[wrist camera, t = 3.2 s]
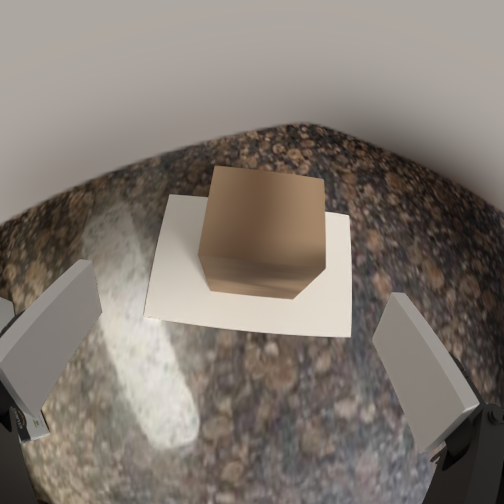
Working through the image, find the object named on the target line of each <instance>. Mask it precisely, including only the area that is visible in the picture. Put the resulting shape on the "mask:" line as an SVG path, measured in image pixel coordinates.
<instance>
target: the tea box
mask: <svg viewBox="0 0 504 504" xmlns="http://www.w3.org/2000/svg"><path fill="white" fill-rule="evenodd" d="M14 316H15V313H14V306H13V303H12V302H11V301H8V300H6V299H4V298H2V297H0V333H1V330H2V329H3V328H4V327H5V326H7V324H8V323H9V322H10V320H11V319H12V318H13V317H14ZM11 406H12V407H13V409H14V412H15V419H16V425H17V430H18V436H19V441H20V444H21V443H25V442H29V441H32V440H35V439H38V438H41V437H44V436H47V435H49V434H50V432H49V430H48V428H47V426H46V424H45V422H44V419H43V416H42V414H41V411H40V412H39V414H38V416H37V418H34V417H32V416H30V415H28V414H26V413H25V412H23V411H21V409H20V408H19V407H18V405H17V404H16V403H15V401H14V402H13V403H12V405H11Z"/></svg>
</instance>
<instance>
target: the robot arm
mask: <svg viewBox="0 0 504 504" xmlns="http://www.w3.org/2000/svg"><path fill="white" fill-rule="evenodd" d="M101 313H102V309H101V304H100V299H99V294H98V289H97V283H96V278H95V271H94V265H93V261H88V260H82V259H79V260H78V261H77V262H76V263H75V264H73V265H72V266H71V267H70V268H69V269H68V270H67V271H66V272H65V273H63V274H62V275H61V276H60V277H59V278H58V279H57V280H56V281H55V282H54V283H53V284H52V285H51V286H50V287H49V288H48V289H46V290H45V291H44V292H43V293H42V294H41V295H40V296H39V297H38V298H37V299H36V300H35V301H34V302H33V303H32V304H31V305H30V306H29V307H28V309H27V310H26V311H25V310H24V311H22V312H21V313H19V314H17V315H16V316H14V317H13V318H12V319H11V320H10V322H9V323H8V324H7V326H5V327H4V328H3V329H2V330H1V333H0V504H38V502H37V499H36V497H35V494H34V491H33V488H32V485H31V482H30V479H29V476H28V472H27V469H26V465H25V462H24V458H23V454H22V450H21V445H20V441H19V436H18V430H17V425H16V419H15V412H14V409H13V407H12V406H11V405H12V403H13V402H14V401H15V403H16V404H17V405H18V407H19V408H20V409H21V411H23V412H25V413H26V414H28V415H30V416H32V417H34V418H37V416H38V414H39V412H40V410H41V408H42V406H43V405H44V403H45V401H46V399H47V398H48V396H49V394H50V392H51V391H52V389H53V387H54V386H55V384H56V382H57V380H58V379H59V377H60V375H61V374H62V372H63V371H64V369H65V367H66V366H67V364H68V363H69V361H70V359H71V358H72V356H73V355H74V353H75V352H76V350H77V349H78V347H79V346H80V344H81V343H82V341H83V340H84V338H85V337H86V335H87V334H88V332H89V331H90V329H91V328H92V326H93V325H94V323H95V322H96V321H97V319H98V318H99V316H100V315H101ZM372 341H373V344H374V346H375V348H376V350H377V352H378V354H379V356H380V359H381V361H382V363H383V365H384V367H385V370H386V372H387V374H388V376H389V379H390V381H391V383H392V385H393V388H394V390H395V392H396V395H397V397H398V400H399V402H400V404H401V407H402V409H403V412H404V414H405V417H406V419H407V422H408V424H409V427H410V429H411V432H412V435H413V437H414V440H415V443H416V445H417V448H418V451H419V454H421V453H424V452H428V451H431V450H433V449H435V448H437V447H438V446H439V445H440V444H441V443H442V442H443V441H444V440H445V443H446V446H445V447H444V448H443V449H442V450H441V451H439V452H438V453H437V454H436V455H435V456H434V457H432V459H431V461H430V462H433V461H434V460H436V459H437V458H438V457H439V456H440V458H439V460H438V461H437V462H436V463H435V464H437V467H436V470H435V473H434V476H433V478H432V481H431V484H430V486H429V489H428V491H427V493H426V496H425V498H424V500H423V503H422V504H504V411H503V410H502V409H501V408H500V407H499V406H497V405H495V404H487V405H486V403H485V402H484V400H483V399H482V397H481V395H480V394H479V392H478V390H477V389H476V387H475V385H474V384H473V382H472V380H471V379H470V378H468V377H469V376H468V374H467V373H466V371H464V368H463V366H462V365H461V363H460V362H459V360H458V359H457V358H455V357H454V356H453V355H452V354H451V353H450V352H448V351H447V350H446V349H445V347H444V346H443V344H442V343H441V341H440V340H439V338H438V337H437V336H436V334H435V333H434V331H433V330H432V329H431V327H430V326H429V324H428V323H427V322H426V320H425V319H424V318H423V316H422V315H421V314H420V312H419V311H418V310H417V308H416V307H415V306H414V304H413V303H412V302H411V301H410V299H409V298H408V297H407V295H406V294H405V293H394V292H391V295H390V297H389V300H388V302H387V305H386V307H385V310H384V312H383V315H382V317H381V319H380V322H379V324H378V326H377V329H376V331H375V333H374V335H373V338H372Z"/></svg>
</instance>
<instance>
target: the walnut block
mask: <svg viewBox="0 0 504 504" xmlns="http://www.w3.org/2000/svg"><path fill="white" fill-rule="evenodd" d="M198 257H199V260H200V263H201V265H202V268H203V271H204V274H205V277H206V280H207V283H208V285H209V288H210V291H214V292H223V293H231V294H240V295H249V296H259V297H269V298H280V299H291V300H293V299H294V298H295V297H296V296H297V295H298V294H299V293H301V292H302V291H303V290H304V289H305V288H306V287H307V286H308V285H309V284H310V283H311V282H312V281H313V280H314V279H316V278H317V277H318V276H319V275H320V274H321V273H322V272H323V271H324V270H325V269H326V224H325V194H324V179H318V178H312V177H306V176H299V175H292V174H285V173H278V172H270V171H262V170H254V169H244V168H235V167H224V166H215V167H214V172H213V177H212V182H211V187H210V191H209V196H208V201H207V207H206V212H205V217H204V222H203V228H202V233H201V239H200V245H199V250H198Z"/></svg>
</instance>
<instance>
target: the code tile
mask: <svg viewBox="0 0 504 504" xmlns="http://www.w3.org/2000/svg"><path fill="white" fill-rule="evenodd" d="M207 201H208V197H197V196H186V195H173V194H170V195H169V199H168V203H167V206H166V210H165V214H164V218H163V222H162V226H161V230H160V235H159V239H158V243H157V248H156V252H155V257H154V262H153V267H152V272H151V277H150V282H149V287H148V293H147V299H146V304H145V311H144V317H149V318H155V319H161V320H167V321H173V322H180V323H186V324H193V325H200V326H208V327H216V328H224V329H233V330H242V331H252V332H263V333H274V334H288V335H304V336H324V337H351V311H352V273H351V242H350V224H349V215H344V214H338V213H331V212H325V224H326V269H325V270H324V271H323V272H322V273H321V274H320V275H319V276H318V277H317V278H316V279H314V280H313V281H312V282H311V283H310V284H309V285H308V286H307V287H306V288H305V289H304V290H303V291H302V292H301V293H299V294H298V295H297V296H296V297H295V298H294V299H293V300H291V299H280V298H269V297H259V296H249V295H240V294H231V293H223V292H214V291H210V288H209V285H208V283H207V280H206V277H205V274H204V271H203V268H202V265H201V263H200V260H199V257H198V250H199V245H200V239H201V233H202V228H203V222H204V217H205V212H206V207H207Z"/></svg>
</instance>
